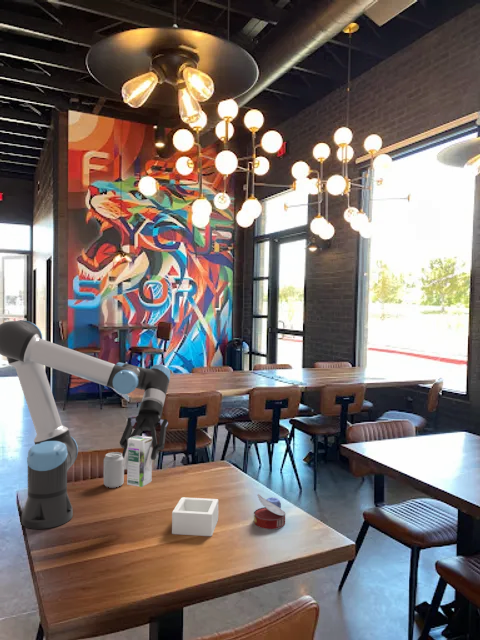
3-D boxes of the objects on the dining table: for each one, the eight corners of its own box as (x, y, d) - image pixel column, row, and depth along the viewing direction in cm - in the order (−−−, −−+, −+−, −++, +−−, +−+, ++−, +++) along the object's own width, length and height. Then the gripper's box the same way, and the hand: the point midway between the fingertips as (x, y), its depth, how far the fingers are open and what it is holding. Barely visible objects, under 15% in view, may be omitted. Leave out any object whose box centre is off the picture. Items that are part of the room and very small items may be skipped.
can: (112, 490, 182) (112, 458, 182) (99, 485, 186) (99, 454, 186) (128, 484, 188) (128, 453, 188) (115, 480, 192) (115, 450, 192)
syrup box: (126, 485, 152) (126, 438, 152) (137, 479, 158) (137, 434, 158) (141, 487, 150) (142, 440, 150) (152, 481, 156) (152, 436, 156)
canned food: (262, 530, 160) (267, 498, 164) (289, 535, 154) (294, 502, 158) (243, 524, 152) (249, 491, 156) (271, 529, 146) (276, 494, 150)
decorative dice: (273, 514, 161) (273, 502, 161) (264, 511, 163) (264, 499, 163) (281, 511, 164) (281, 499, 164) (271, 508, 166) (271, 496, 166)
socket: (211, 536, 145) (211, 514, 145) (172, 533, 146) (172, 512, 146) (218, 519, 157) (218, 499, 157) (181, 517, 158) (181, 497, 158)
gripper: (182, 412, 168) (169, 475, 152) (126, 410, 170) (108, 472, 154) (178, 399, 163) (164, 463, 147) (121, 397, 165) (101, 460, 149)
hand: (135, 467), depth 151 cm, fingers closed on syrup box, 7 cm apart
